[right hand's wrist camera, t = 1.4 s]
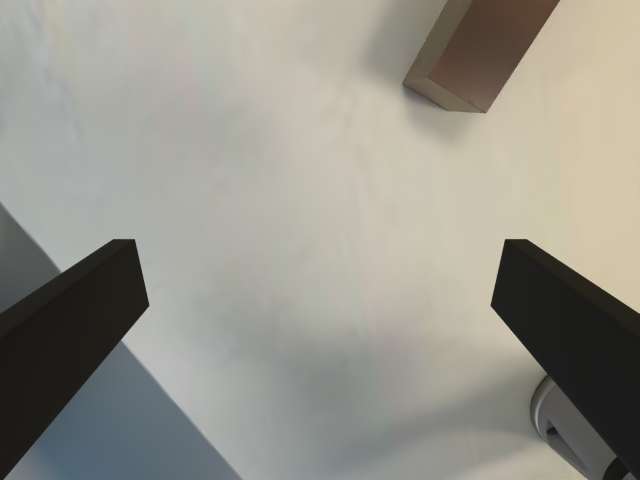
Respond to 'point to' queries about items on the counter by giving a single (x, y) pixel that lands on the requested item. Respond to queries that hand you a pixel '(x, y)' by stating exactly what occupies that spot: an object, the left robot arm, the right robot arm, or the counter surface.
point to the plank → (475, 51)
